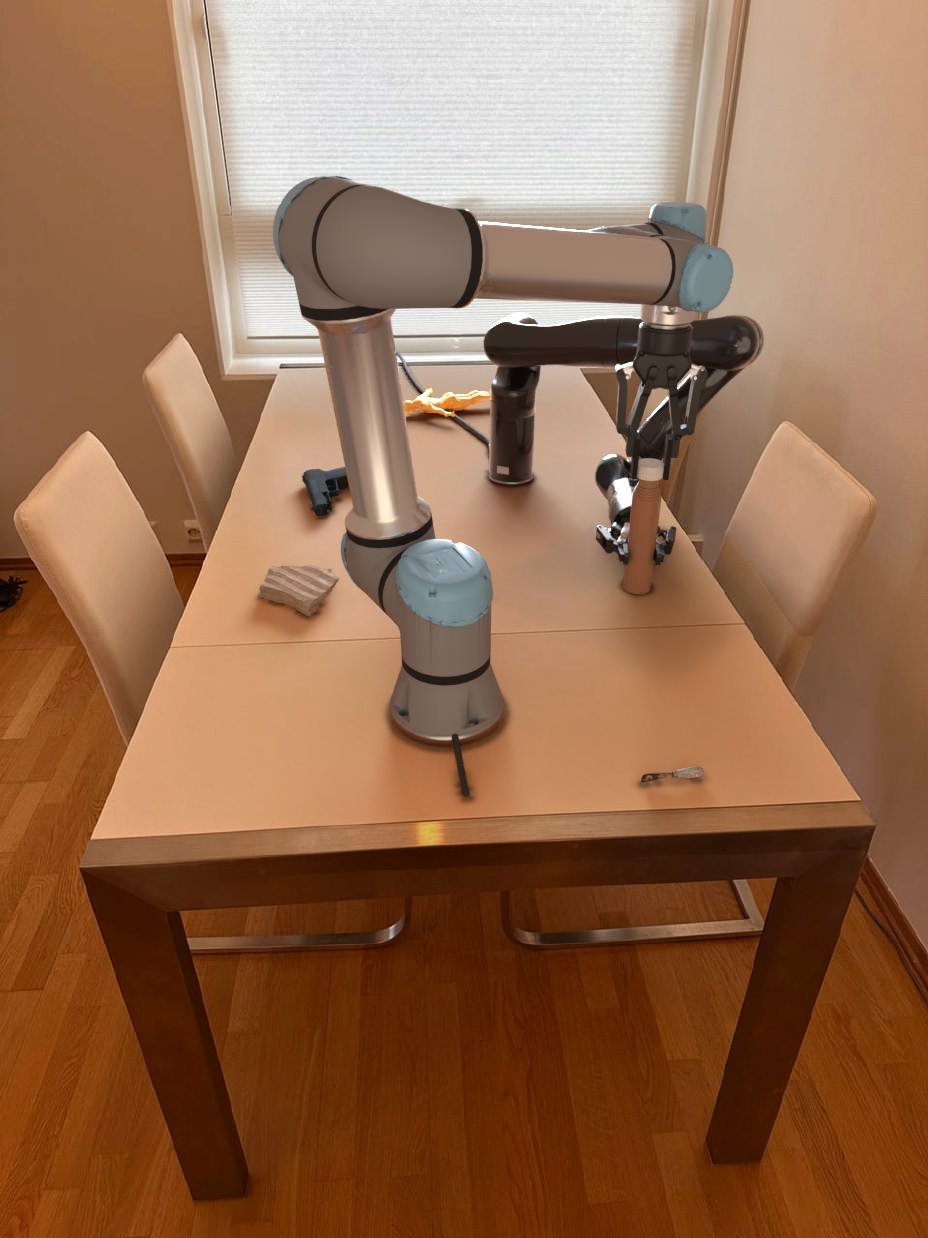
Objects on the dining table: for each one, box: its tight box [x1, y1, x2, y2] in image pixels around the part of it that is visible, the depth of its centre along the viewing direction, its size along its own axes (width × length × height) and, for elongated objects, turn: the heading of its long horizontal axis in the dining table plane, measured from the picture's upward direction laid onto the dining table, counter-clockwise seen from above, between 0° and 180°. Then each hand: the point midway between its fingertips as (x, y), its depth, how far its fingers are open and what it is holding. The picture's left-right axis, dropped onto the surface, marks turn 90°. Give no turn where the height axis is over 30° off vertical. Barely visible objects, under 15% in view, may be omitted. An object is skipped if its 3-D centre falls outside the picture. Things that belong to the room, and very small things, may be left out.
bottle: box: [622, 479, 662, 595], centre depth 144 cm, size 4×4×21 cm
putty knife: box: [640, 765, 705, 784], centre depth 109 cm, size 1×8×2 cm, turn 103°
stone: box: [258, 564, 339, 617], centre depth 147 cm, size 13×12×3 cm
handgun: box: [301, 466, 350, 518], centre depth 180 cm, size 3×18×12 cm
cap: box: [637, 458, 664, 481], centre depth 138 cm, size 4×4×2 cm
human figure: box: [403, 385, 490, 418], centre depth 225 cm, size 20×20×4 cm
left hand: (649, 475), depth 139 cm, fingers closed on cap, 4 cm apart
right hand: (642, 560), depth 144 cm, fingers closed on bottle, 4 cm apart
